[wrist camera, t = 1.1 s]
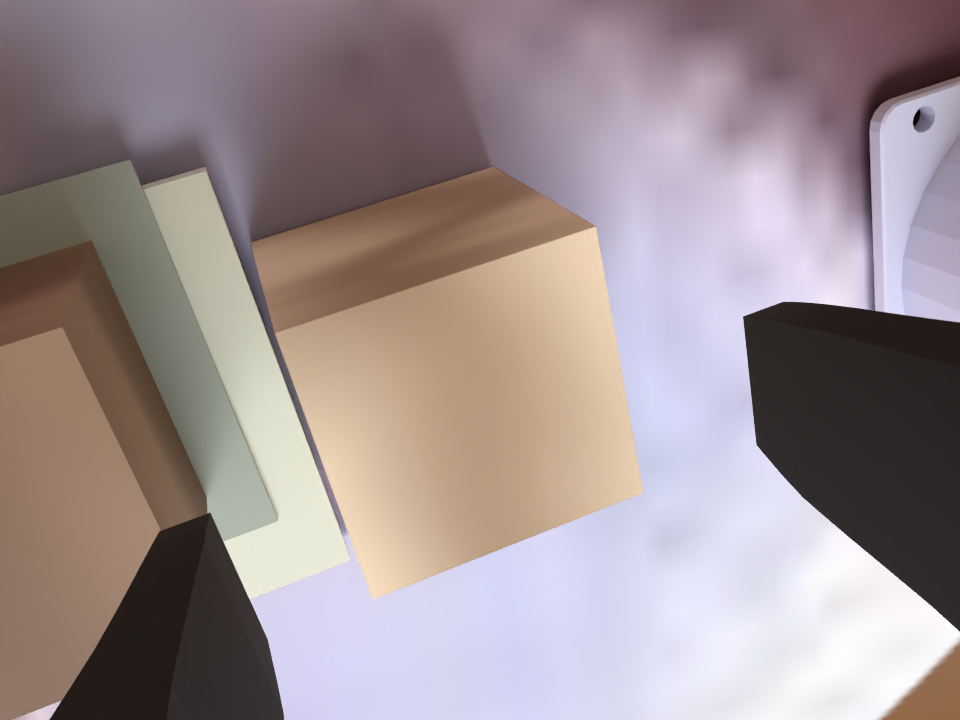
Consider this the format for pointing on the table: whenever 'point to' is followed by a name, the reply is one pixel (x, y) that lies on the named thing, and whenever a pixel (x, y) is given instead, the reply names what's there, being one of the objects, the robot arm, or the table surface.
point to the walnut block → (75, 470)
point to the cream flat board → (197, 355)
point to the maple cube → (453, 370)
